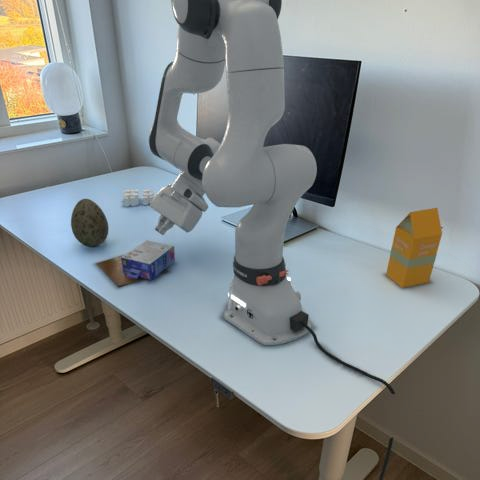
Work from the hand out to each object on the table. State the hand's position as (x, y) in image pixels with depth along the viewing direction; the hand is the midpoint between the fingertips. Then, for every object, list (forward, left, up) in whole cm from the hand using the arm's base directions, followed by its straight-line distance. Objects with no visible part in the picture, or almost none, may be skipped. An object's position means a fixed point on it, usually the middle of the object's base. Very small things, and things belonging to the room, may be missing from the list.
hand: (158, 232), depth 132 cm
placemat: (-1, +10, -9) cm, 13 cm away
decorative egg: (+19, +15, -9) cm, 26 cm away
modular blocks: (+46, -13, -9) cm, 49 cm away
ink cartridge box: (-1, 0, -6) cm, 6 cm away
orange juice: (-45, -55, -9) cm, 71 cm away
